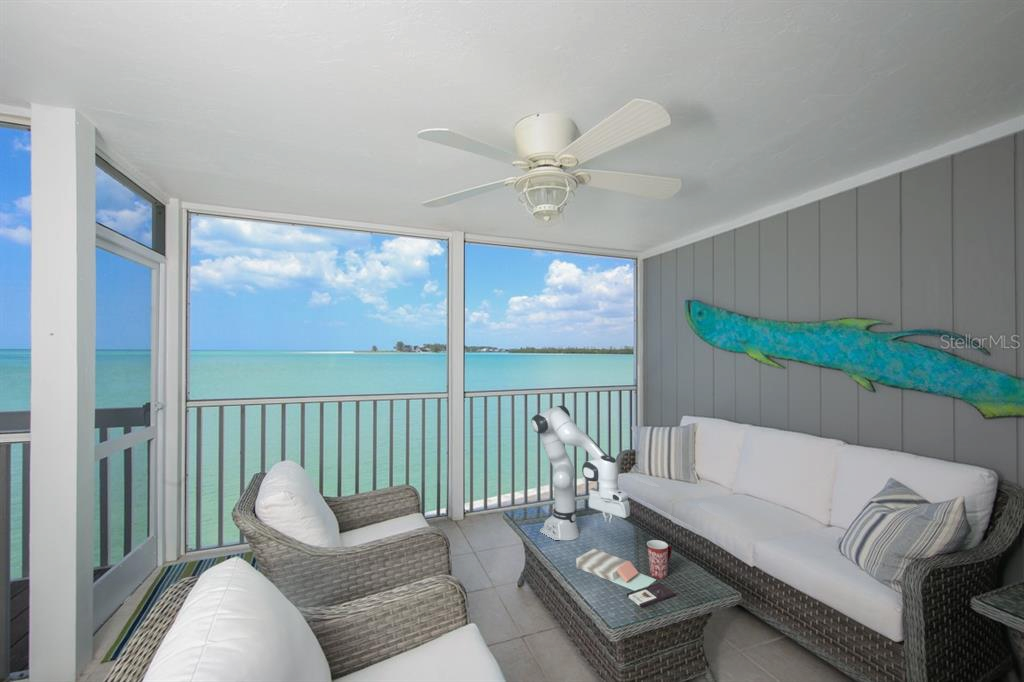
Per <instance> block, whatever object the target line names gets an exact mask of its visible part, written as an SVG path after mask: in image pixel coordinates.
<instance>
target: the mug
mask: <svg viewBox="0 0 1024 682" xmlns="http://www.w3.org/2000/svg"><path fill="white" fill-rule="evenodd" d="M646 545H647V552H648V562H649V573H650V575H651V576H652V578H653V577H654V578H657V579H664V578H667V577H668V565H669V562H670V559H671V557H672V556H671V555H672V552H673V551H672V546H671V545H670V544H668V543H667V542H665V541H663V540H659V539H658V540H657V539H652V540H648V541H647V542H646Z"/></svg>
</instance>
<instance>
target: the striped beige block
mask: <svg viewBox="0 0 1024 682" xmlns="http://www.w3.org/2000/svg"><path fill="white" fill-rule="evenodd" d="M575 561H576V565H575V566H576V569H579V570H583V571H584V572H587V573H590V574H592V575H595V576H597V577H599V578H602V579H605V580H607V581H610V582H611V581H615V580H616V579H618V578H619V577H620V575H619V574H618V572H617V571H616V570H617V569H618V568H619V567H620V566H622V565H623V564H625V563H626V562H628V561H629V560H626V559H623V558H620V557H617V556H615V555H613V554H610V553H606V552H604V551H601V550H599V549H595V548H592V549H591V550H589V551H587V552H585V553H584V554H582V555H580V556H579V557H576V558H575Z"/></svg>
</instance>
